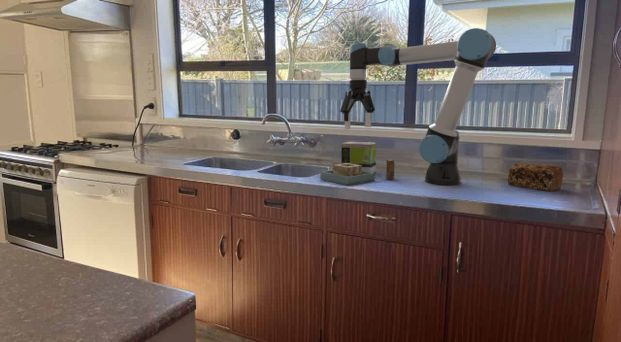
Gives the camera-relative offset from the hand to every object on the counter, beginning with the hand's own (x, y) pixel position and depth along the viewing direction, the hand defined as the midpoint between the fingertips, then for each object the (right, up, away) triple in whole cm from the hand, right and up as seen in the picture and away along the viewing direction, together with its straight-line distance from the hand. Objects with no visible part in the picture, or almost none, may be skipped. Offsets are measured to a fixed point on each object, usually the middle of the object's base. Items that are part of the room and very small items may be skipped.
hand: (358, 128), depth 202 cm
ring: (-4, -23, 0) cm, 23 cm away
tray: (-5, -23, +1) cm, 24 cm away
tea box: (+2, -20, +21) cm, 29 cm away
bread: (+73, -26, -12) cm, 78 cm away
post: (+15, -23, +4) cm, 28 cm away
